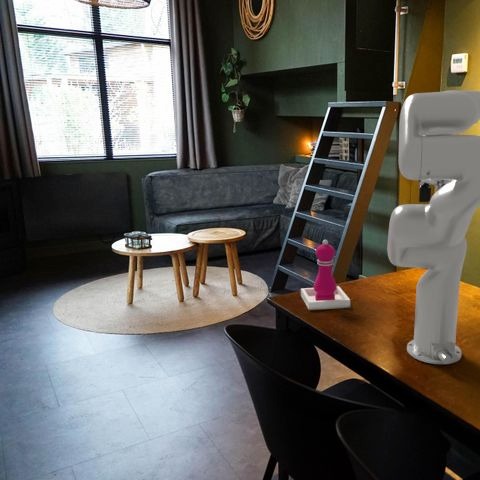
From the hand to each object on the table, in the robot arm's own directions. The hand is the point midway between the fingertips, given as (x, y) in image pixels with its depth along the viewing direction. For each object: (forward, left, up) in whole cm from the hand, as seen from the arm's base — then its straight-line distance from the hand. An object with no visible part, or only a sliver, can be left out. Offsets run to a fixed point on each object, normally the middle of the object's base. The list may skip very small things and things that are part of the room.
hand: (432, 204), depth 136 cm
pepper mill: (+17, +26, -33) cm, 45 cm away
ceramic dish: (+17, +26, -33) cm, 46 cm away
